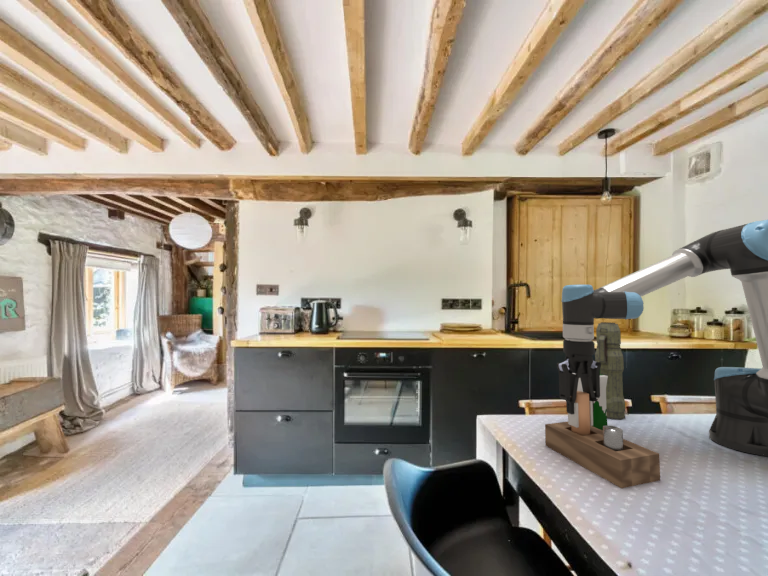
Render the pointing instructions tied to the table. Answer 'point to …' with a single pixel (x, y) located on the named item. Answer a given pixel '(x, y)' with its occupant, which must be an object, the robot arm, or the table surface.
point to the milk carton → (599, 404)
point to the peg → (582, 414)
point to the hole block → (604, 455)
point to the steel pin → (613, 437)
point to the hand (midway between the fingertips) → (580, 424)
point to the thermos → (611, 367)
